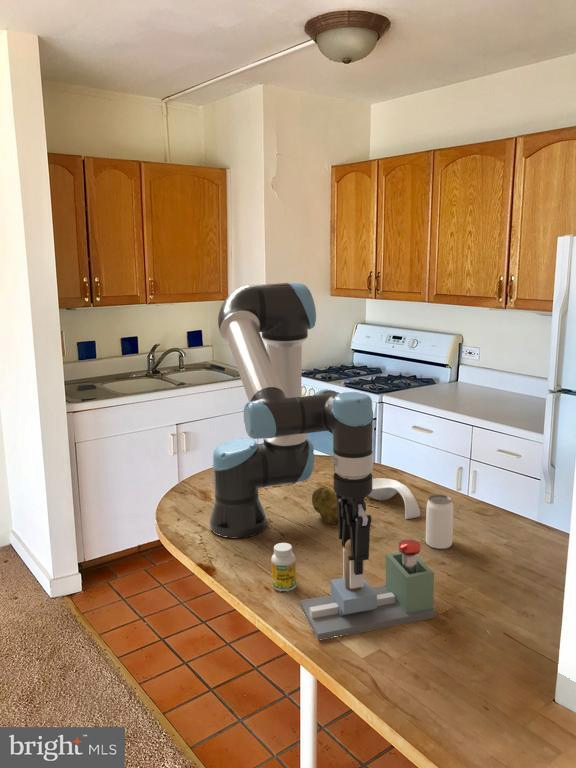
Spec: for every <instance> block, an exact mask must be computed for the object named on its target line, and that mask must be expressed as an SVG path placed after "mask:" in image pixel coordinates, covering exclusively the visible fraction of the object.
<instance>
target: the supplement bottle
mask: <svg viewBox="0 0 576 768" xmlns="http://www.w3.org/2000/svg"><path fill="white" fill-rule="evenodd" d="M296 569H297V563H296V556H295V554H294V553H293V546H292V544H290V543H287V542H279V543H277V544H275V545H274V546H273V554H272V556H271V582H272V584H271V585H272V588H273V587H274V588H275V589H277V590H280V591H279V592H281V591H287V592H290V591H289V590H291V591H292V590H295V588H296V587H297V570H296ZM274 588H273V589H274ZM275 589H274V590H275ZM277 590H276V591H277Z"/></svg>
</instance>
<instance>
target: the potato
mask: <svg viewBox="0 0 576 768" xmlns="http://www.w3.org/2000/svg"><path fill="white" fill-rule="evenodd" d="M311 503H312V505H313V506H312V507H313V509H314V511H316V512H317V513H318V514H319V515H320V517H321V518H322V519H323V521H324V522H327V523H328V524H331V525H332V524H333V525H336V526H337V525H338V505H337V497H336V493H335V491H334V489H332V488H330V487H326V486H325V487H324V486H323V487H320V488H316V490H314V491H313V493H312V495H311Z"/></svg>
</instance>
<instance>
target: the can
mask: <svg viewBox="0 0 576 768" xmlns="http://www.w3.org/2000/svg"><path fill="white" fill-rule="evenodd" d="M425 513H426V515H425V516H426V518H425V519H426V520H425V524H426V525H425V542H426V544H427V545H429V547H430V548H432V549H436V550H446V549H449V548H450V547H451V546H452V545H453V530H454V529H453V528H454V504H453V501H452V498H451V497H450V496H448V495H445V494H433V495H430V496H428V501H427V503H426V512H425Z"/></svg>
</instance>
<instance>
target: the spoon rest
mask: <svg viewBox="0 0 576 768" xmlns="http://www.w3.org/2000/svg"><path fill="white" fill-rule="evenodd" d="M397 493H398V494H399V495H400V496H401V497H402V499H403V503H404V518H405V520H409V519H410V520H411V519H414V518H415V519H416V518H419V517H420V516H421V510H420V506H419V504H418V501H417V500H416V497H415V496H414V494H413V492H412V491H411V490H410V489H409V488H408V487H407V485H405V484H403V483H402V482H399V480H395V479H392V478H383V477H381V478H379V477H376V478H372V492H371V493H370V494H369V495H367V497H370V498H371V499H373V500H376V501H386V500H389V499H391V498H392V497H394V496H396V494H397Z"/></svg>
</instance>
